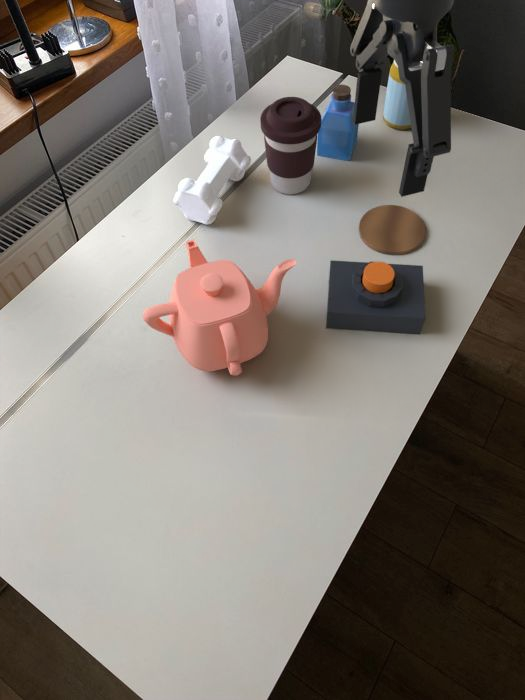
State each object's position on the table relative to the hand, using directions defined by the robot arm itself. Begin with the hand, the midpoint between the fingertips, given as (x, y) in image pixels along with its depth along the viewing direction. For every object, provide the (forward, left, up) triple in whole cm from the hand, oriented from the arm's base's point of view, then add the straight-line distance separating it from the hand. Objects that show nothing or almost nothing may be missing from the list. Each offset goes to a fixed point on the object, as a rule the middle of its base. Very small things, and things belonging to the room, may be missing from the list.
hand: (386, 154), depth 71 cm
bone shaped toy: (+26, -20, -27) cm, 43 cm away
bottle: (-7, -44, -27) cm, 52 cm away
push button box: (-2, +2, -27) cm, 27 cm away
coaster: (-5, -14, -27) cm, 31 cm away
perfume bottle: (+5, -35, -27) cm, 45 cm away
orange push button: (-2, +2, -21) cm, 22 cm away
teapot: (+20, +9, -27) cm, 35 cm away
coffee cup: (+13, -25, -27) cm, 40 cm away
